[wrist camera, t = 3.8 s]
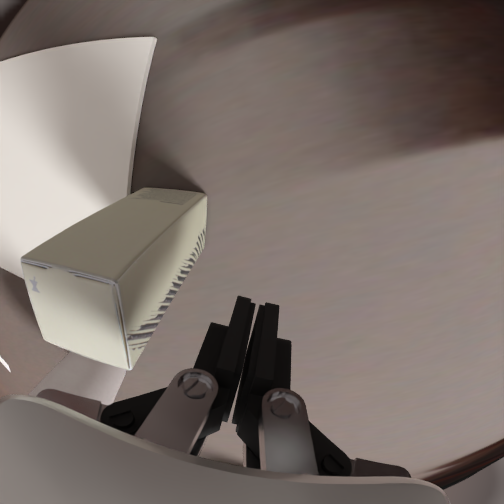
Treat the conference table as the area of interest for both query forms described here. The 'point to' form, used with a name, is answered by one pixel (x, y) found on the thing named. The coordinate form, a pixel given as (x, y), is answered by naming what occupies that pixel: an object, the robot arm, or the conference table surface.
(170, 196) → the box
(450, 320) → the conference table surface
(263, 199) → the conference table surface
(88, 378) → the coffee cup
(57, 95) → the mat
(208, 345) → the robot arm
